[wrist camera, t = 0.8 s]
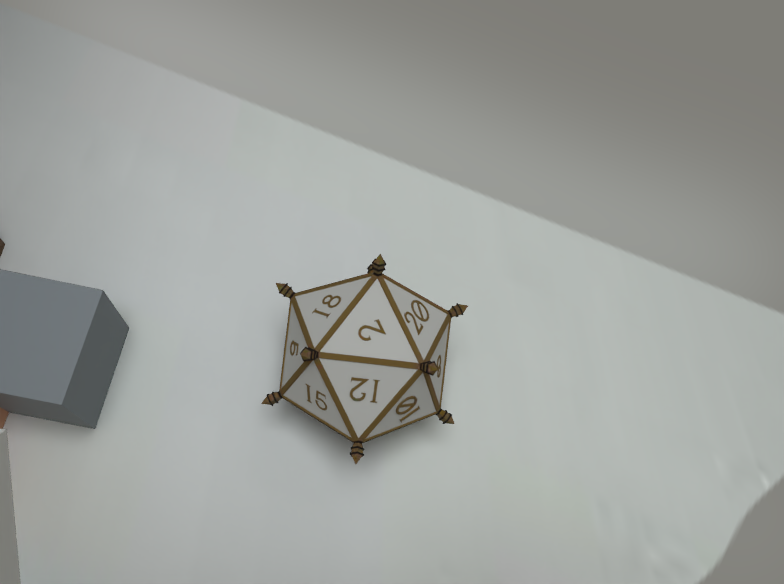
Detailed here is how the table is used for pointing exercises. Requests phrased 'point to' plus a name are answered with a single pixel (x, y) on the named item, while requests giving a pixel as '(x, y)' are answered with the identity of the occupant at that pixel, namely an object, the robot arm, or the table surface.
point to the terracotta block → (3, 417)
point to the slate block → (56, 348)
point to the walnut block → (1, 246)
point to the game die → (365, 355)
